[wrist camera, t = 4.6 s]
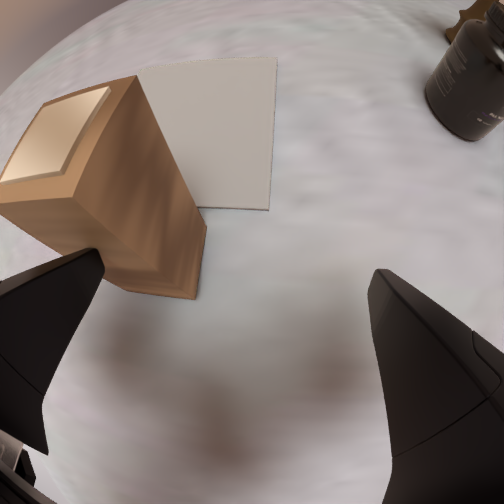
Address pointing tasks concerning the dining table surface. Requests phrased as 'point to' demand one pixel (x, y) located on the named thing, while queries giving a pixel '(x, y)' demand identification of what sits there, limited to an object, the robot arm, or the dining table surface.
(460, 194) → the dining table surface
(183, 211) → the walnut block
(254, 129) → the felt pad
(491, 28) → the supplement bottle
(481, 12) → the kendama
